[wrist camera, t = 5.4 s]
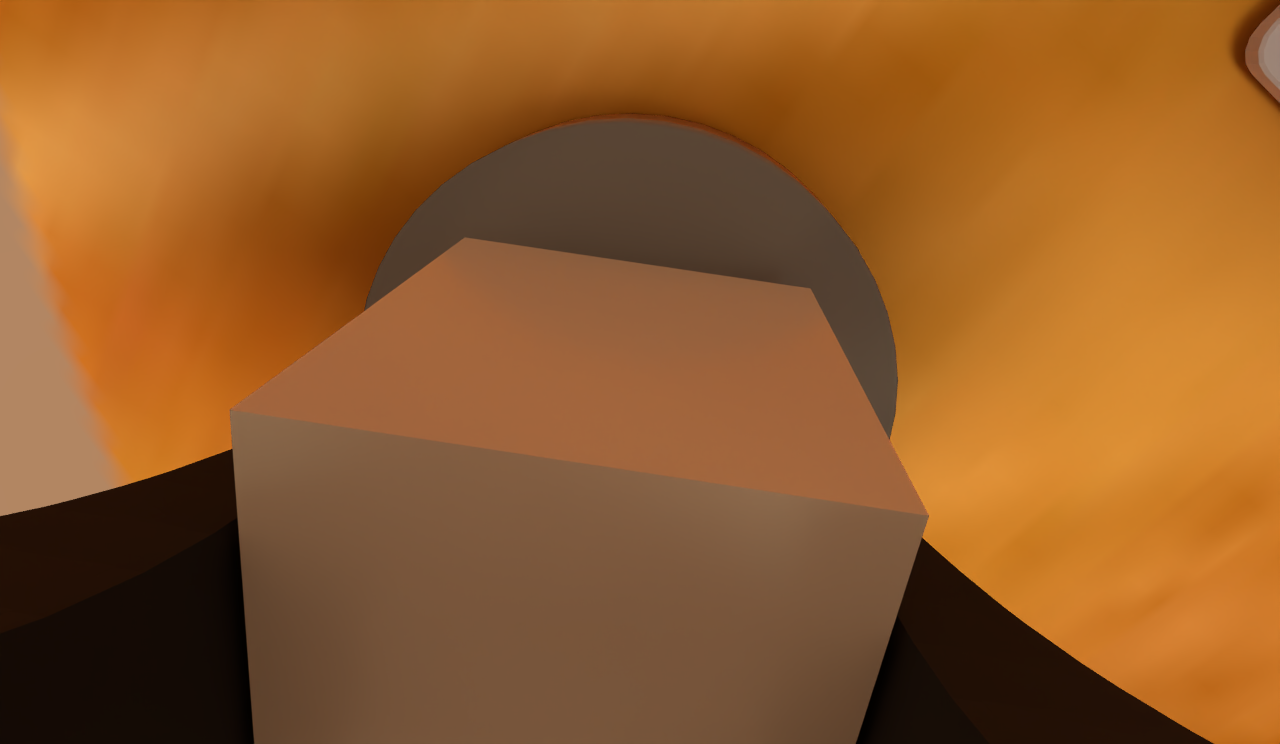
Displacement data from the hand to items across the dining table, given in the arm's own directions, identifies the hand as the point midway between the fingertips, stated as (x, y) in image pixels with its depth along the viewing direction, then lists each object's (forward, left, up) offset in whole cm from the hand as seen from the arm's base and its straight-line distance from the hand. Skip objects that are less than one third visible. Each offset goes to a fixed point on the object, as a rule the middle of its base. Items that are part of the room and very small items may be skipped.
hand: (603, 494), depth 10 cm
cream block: (0, 0, -2) cm, 2 cm away
